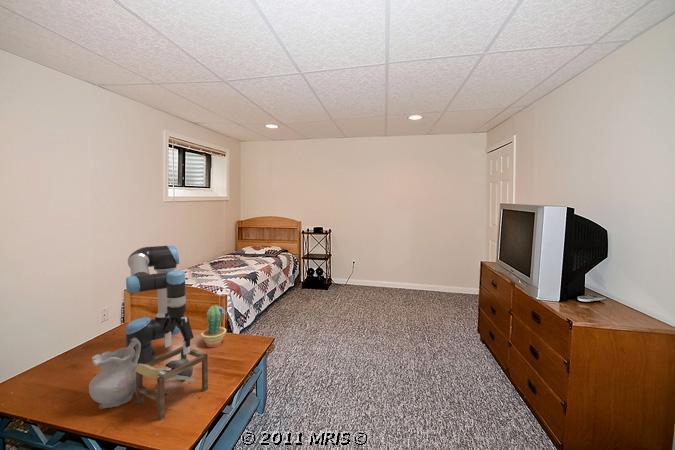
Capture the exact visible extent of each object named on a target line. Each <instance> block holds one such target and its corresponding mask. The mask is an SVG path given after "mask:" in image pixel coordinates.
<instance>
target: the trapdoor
mask: <svg viewBox="0 0 675 450" xmlns="http://www.w3.org/2000/svg"><path fill="white" fill-rule="evenodd" d="M170 370H171V369H169V368H161V367H154V366H149V365H146V364H140V363H139V364H138V366H137V367H136V369H135V371H136V372H138V373H140V374H142V375H143V377H146V378H151V379H152V378H153V379H157V378H158V377H160V376H162V375H164V374H166V373H168V372H170ZM171 379H172V380H173V379H175V380H180V381H181V380H186V381H192V382H195V381H196V378H195V377H192V376H184V375H181V374H177V375H176V376H174V377H172V378H171Z"/></svg>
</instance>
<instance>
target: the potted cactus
mask: <svg viewBox="0 0 675 450" xmlns="http://www.w3.org/2000/svg"><path fill="white" fill-rule="evenodd" d="M225 315H226V310H225V309H224V308H223V306H219V305H217V304H214V305H211V306H210V308H208V310H207V312H206V320H207V324H208V327H207V328H206V329H204V330H202V331H201V333H200V337H201V338H202V339H203V341H204V342H205V344H206V345H205V346H206V347H208V348H216V347H219V346H220V345H222V341H223V340H224V338H225V335H226V334H227V329H226V328H225V327H223V326H220V325H221V321H222V319H223V316H225Z"/></svg>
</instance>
